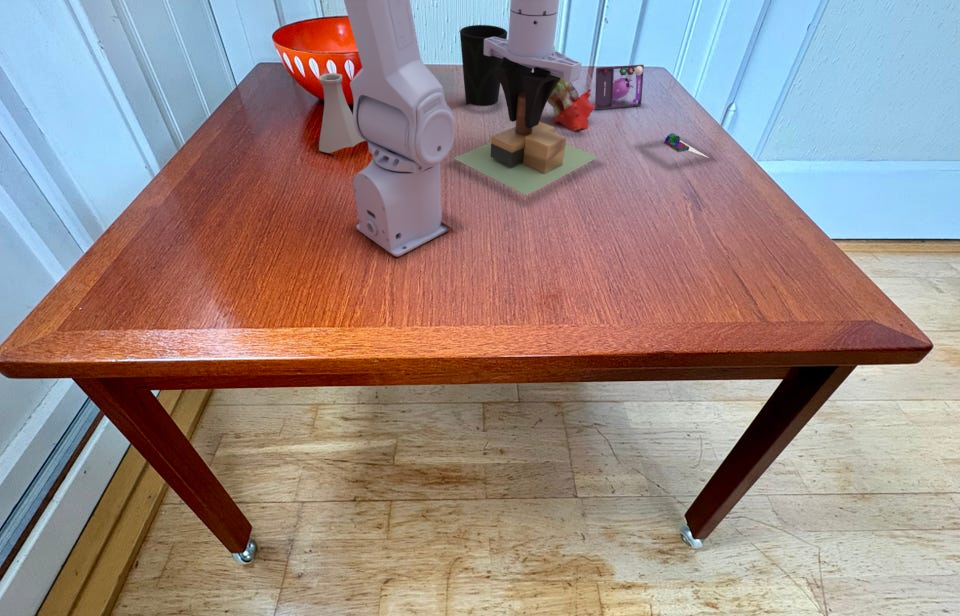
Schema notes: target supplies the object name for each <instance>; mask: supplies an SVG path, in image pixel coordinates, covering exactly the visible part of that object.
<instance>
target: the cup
mask: <svg viewBox="0 0 960 616" xmlns="http://www.w3.org/2000/svg"><path fill="white" fill-rule="evenodd" d="M459 36H460V49H461V60H462V61H461V63H462V73H463V86H464V87H463V88H464V99H465V106H468V105H473V106H478V107H487V106H493V105H495V104H497V103H498V102H499V95H500V89H501V83H500V81H499V79H498V77H497V75H496V73H495V67H496V66H498V65H501V63H502V62H503V59H502V58H499V57H496V56H493V55H492V56H486V55H484V39H487V38H490V37H498V38H502V39H508V31H507V30H506V29H505V28H503V27H500V26H496V25H489V24H473V25H467V26H464V27H462V28H460V30H459Z"/></svg>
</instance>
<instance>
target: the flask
mask: <svg viewBox="0 0 960 616" xmlns="http://www.w3.org/2000/svg"><path fill="white" fill-rule="evenodd" d="M318 78H319V80H318V81H319V84H321V85H322V89H323V101H324V103H323V105H324V106H323V114H322V122H321V128H320V134H319V143H318V151H319V152H322V153H326V154H332V153H334V152H338V151H340V150H343V149H346V148H354V147H355V146H356V145H358V144H360V143H363V142H366V141H365V140H364V139H362V138H361V137H360V136H359V134H358V133H357V131H356V129H355V126H354V122H353V111H352V110H351V108H350V107H349V105H348V102H347V100H346V97H345V94H344V91H343V85H342V82H343V74H341V73H337V72H336V73H335V72H332V73H328V72H327V73H323V74H321V75H319V77H318Z"/></svg>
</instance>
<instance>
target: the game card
mask: <svg viewBox="0 0 960 616" xmlns="http://www.w3.org/2000/svg"><path fill="white" fill-rule="evenodd" d="M644 67H645V66H644V64H631V65H629V64H628V65H615V66H600V67H596V68H595V93H594V94H595V96H594V97H595V98H594V106H595V108H594V109H595V110H596V111H597V110H598V111H599V110H608V109H609V110H610V109H620V108H632V107H640V106H642V101H643V84H644V83H643V82H644ZM615 70H619V74H620V76H624V77H619V78H617V79H614V77H615V76H614V75H615ZM634 74H635V99H632V103H627V104H618V105H617V104H616V105H613V102H614V101H613V100H619V99H622V98H624V97H625V96H626V95H627V94H628V93H631V90H630V89H631V88H632V89H634V85H632V84H631V83H630V82H632V81H633V79H632V78H628V77H626V75H628V76H632V75H634Z"/></svg>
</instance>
